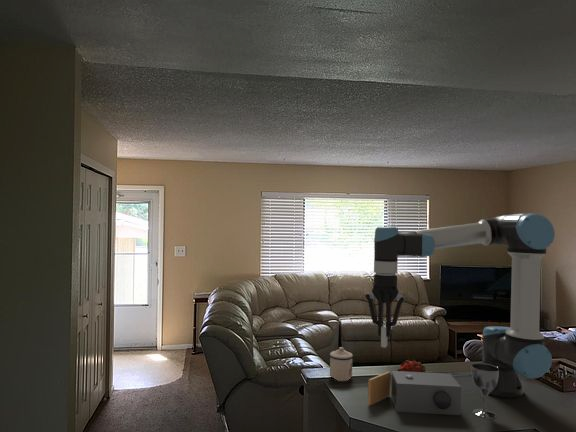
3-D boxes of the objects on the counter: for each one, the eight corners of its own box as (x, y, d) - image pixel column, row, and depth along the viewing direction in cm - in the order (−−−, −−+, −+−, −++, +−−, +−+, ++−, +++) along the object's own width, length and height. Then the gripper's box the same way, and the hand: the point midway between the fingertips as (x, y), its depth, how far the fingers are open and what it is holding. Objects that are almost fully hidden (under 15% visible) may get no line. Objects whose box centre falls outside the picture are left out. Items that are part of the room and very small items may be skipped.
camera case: (450, 399, 150) (450, 372, 150) (462, 417, 137) (462, 386, 137) (390, 396, 152) (391, 369, 152) (397, 413, 138) (397, 383, 139)
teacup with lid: (354, 382, 165) (354, 351, 166) (330, 381, 165) (331, 350, 165) (349, 371, 177) (350, 342, 178) (327, 370, 177) (327, 342, 177)
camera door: (386, 394, 153) (386, 370, 153) (390, 395, 152) (390, 371, 152) (366, 403, 145) (367, 379, 145) (370, 405, 144) (370, 380, 144)
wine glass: (496, 411, 142) (497, 364, 142) (499, 421, 134) (500, 372, 135) (470, 407, 145) (470, 361, 145) (472, 417, 137) (472, 369, 137)
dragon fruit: (428, 385, 168) (398, 390, 167) (419, 366, 175) (391, 371, 174) (432, 371, 163) (401, 377, 162) (422, 353, 170) (393, 358, 168)
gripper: (407, 274, 143) (406, 346, 143) (368, 271, 149) (367, 340, 149) (403, 276, 137) (402, 352, 136) (362, 273, 142) (361, 346, 142)
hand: (384, 346), depth 142 cm, fingers closed
